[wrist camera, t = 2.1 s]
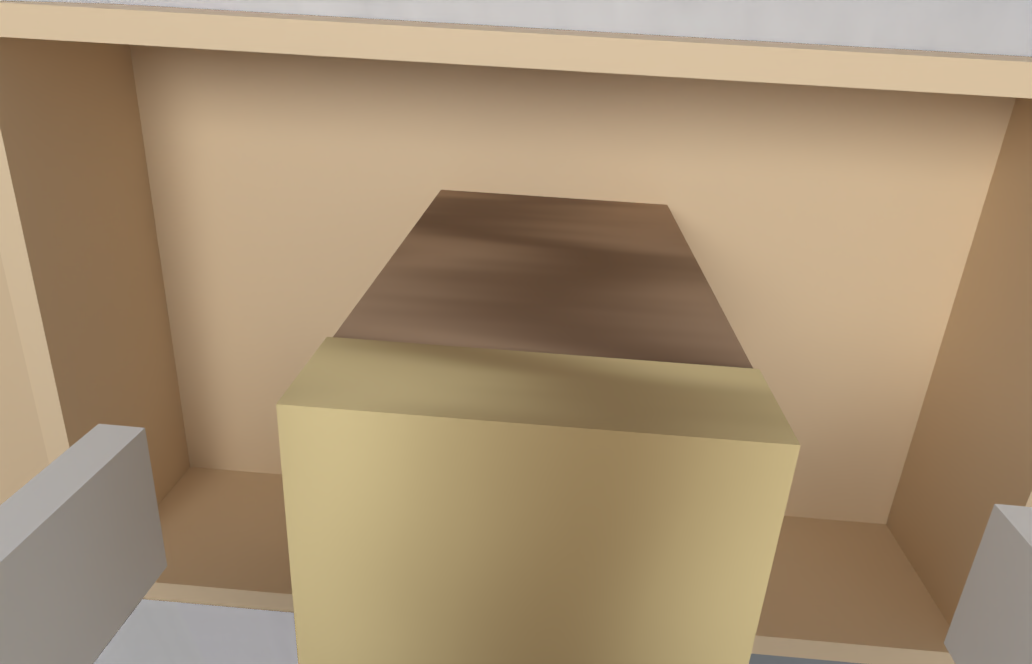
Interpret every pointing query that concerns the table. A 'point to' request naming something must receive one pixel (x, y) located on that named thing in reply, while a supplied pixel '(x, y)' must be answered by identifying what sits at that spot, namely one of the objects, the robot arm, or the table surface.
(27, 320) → the carton
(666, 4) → the table surface
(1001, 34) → the table surface
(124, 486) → the robot arm
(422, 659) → the block
